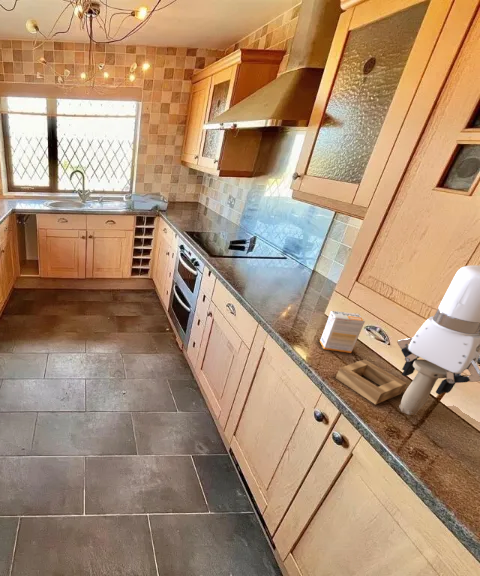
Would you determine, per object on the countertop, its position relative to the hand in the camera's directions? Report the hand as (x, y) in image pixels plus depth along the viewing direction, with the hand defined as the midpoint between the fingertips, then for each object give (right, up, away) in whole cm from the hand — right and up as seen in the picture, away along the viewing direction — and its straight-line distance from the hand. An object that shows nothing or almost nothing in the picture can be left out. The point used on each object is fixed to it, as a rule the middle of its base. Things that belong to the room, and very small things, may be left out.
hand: (423, 382), depth 76 cm
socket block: (-1, -6, +15) cm, 16 cm away
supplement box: (+2, +2, +31) cm, 31 cm away
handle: (0, -9, +5) cm, 10 cm away
